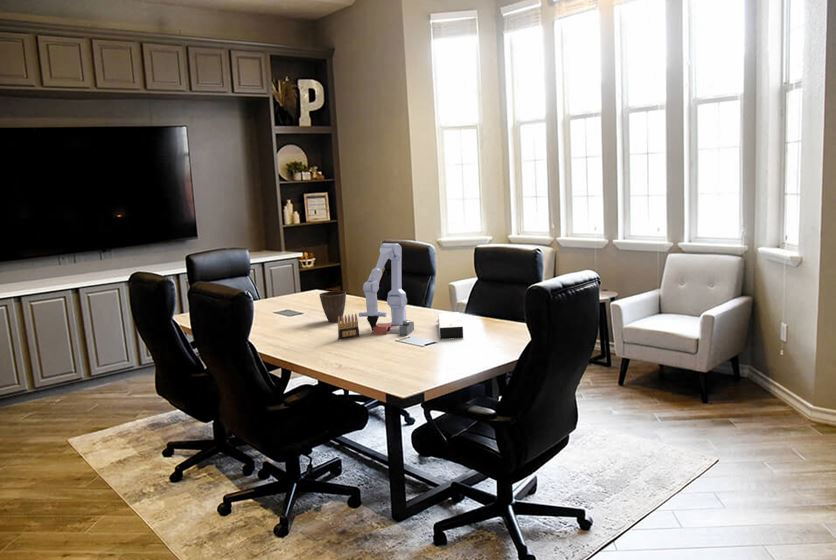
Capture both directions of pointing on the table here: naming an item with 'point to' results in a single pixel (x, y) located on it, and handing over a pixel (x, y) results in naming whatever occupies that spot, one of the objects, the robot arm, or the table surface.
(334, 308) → the plant pot
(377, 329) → the red block
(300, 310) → the table surface
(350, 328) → the ammunition clip
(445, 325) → the laminator
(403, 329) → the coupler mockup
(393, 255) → the robot arm
